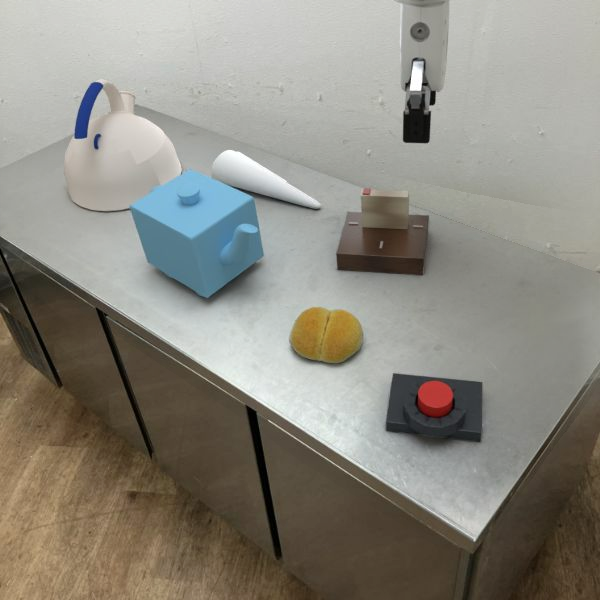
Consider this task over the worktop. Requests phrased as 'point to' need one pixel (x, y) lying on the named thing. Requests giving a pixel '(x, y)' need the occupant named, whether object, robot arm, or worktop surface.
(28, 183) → the worktop surface
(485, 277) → the worktop surface
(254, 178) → the long cone
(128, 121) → the kettle
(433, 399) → the button
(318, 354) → the bread roll
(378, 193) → the handle
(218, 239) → the teapot
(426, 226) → the panel
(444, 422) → the button block
